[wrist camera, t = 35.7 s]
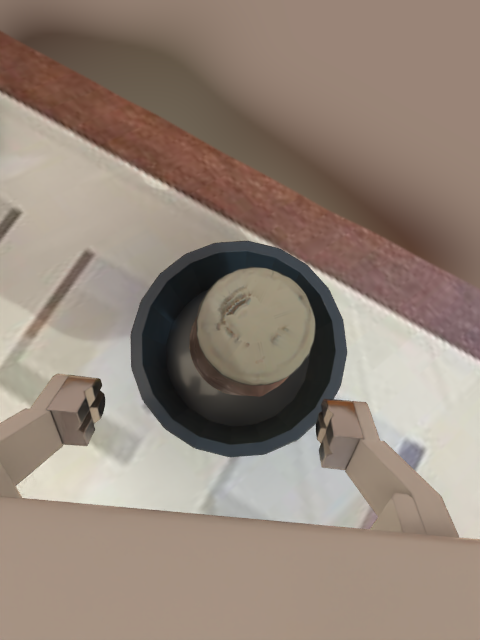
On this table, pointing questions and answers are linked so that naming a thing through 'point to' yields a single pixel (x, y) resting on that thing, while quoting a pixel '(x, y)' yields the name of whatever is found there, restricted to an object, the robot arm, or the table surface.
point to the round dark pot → (200, 397)
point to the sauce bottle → (251, 331)
